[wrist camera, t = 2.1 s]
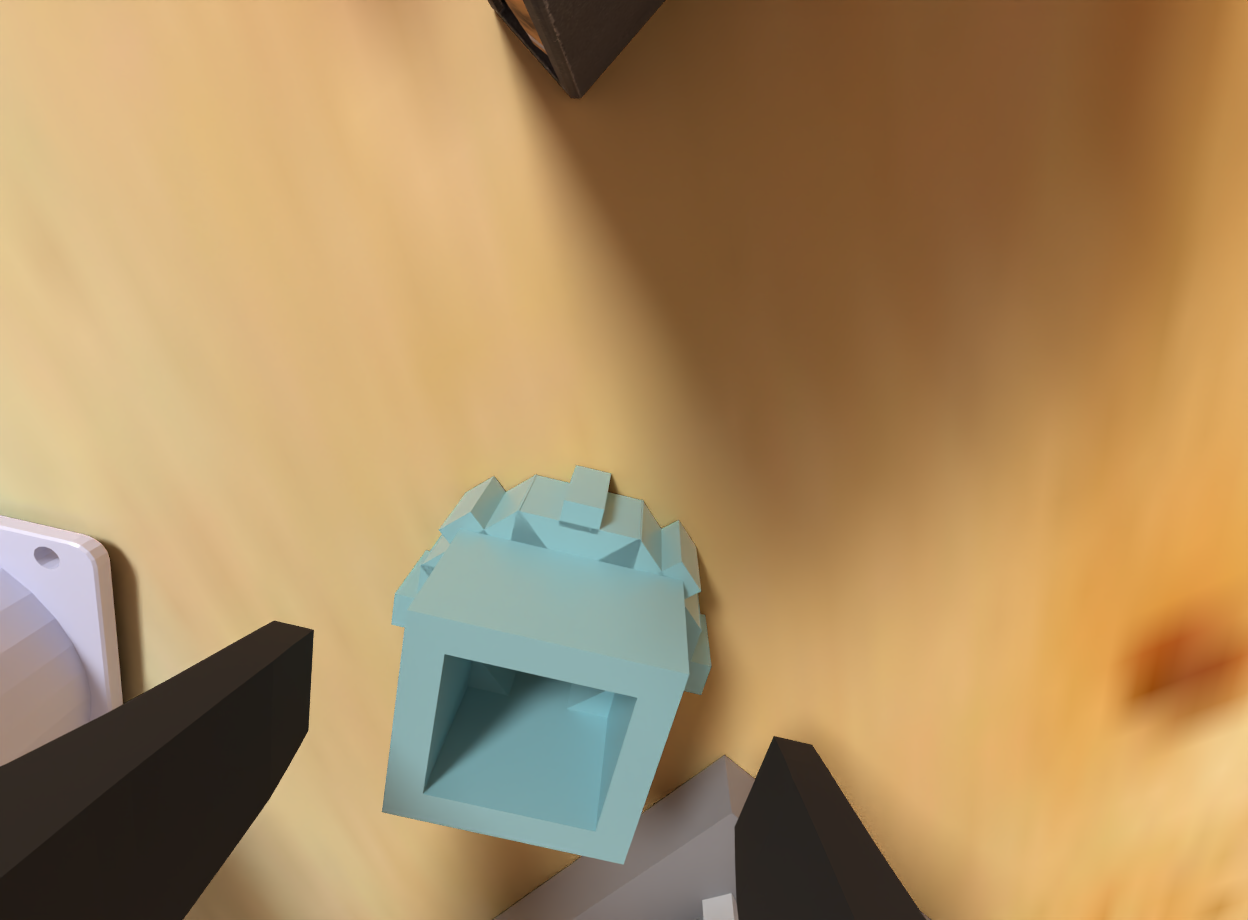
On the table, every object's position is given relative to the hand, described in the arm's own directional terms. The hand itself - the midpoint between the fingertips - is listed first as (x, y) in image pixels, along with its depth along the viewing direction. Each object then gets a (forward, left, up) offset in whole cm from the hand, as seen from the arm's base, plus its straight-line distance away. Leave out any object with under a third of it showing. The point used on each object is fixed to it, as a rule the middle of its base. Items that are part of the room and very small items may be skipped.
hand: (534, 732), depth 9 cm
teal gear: (0, 0, -4) cm, 4 cm away
